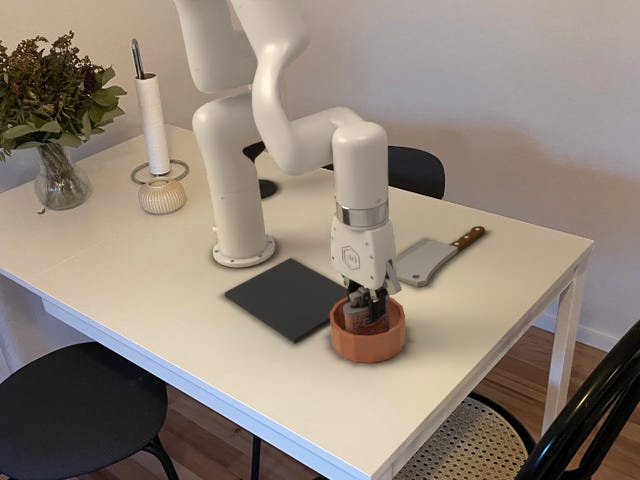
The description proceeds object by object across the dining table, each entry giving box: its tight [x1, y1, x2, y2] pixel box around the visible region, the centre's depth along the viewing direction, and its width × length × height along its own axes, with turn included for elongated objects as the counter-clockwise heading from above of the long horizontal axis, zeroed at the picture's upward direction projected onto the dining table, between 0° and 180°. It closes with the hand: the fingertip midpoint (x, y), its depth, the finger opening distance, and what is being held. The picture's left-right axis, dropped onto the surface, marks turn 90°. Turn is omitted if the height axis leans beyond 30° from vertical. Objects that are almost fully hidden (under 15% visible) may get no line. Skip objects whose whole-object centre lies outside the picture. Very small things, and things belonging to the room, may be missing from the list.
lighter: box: [343, 286, 391, 336], centre depth 106 cm, size 8×3×10 cm, turn 117°
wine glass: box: [242, 141, 278, 200], centre depth 154 cm, size 10×10×20 cm
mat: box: [224, 257, 348, 344], centre depth 120 cm, size 20×16×1 cm
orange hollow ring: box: [329, 296, 406, 364], centre depth 108 cm, size 12×12×5 cm
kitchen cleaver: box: [396, 225, 486, 288], centre depth 129 cm, size 24×1×10 cm
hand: (366, 310), depth 106 cm, fingers closed on lighter, 3 cm apart
